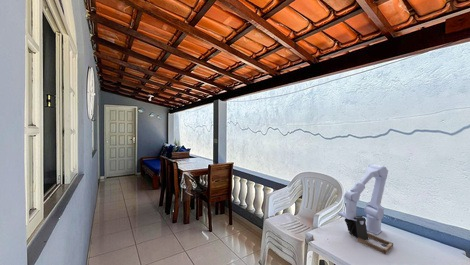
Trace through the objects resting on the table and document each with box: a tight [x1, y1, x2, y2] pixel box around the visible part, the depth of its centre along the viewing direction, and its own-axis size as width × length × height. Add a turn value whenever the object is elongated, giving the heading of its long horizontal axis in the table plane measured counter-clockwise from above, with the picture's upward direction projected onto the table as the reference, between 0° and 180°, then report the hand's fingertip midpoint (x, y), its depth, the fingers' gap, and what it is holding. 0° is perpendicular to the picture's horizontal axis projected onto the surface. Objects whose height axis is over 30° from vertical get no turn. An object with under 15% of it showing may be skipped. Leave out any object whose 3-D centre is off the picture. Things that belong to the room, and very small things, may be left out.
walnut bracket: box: [357, 232, 394, 255], centre depth 113 cm, size 12×14×2 cm
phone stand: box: [348, 216, 370, 241], centre depth 120 cm, size 9×6×12 cm, turn 7°
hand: (349, 230), depth 124 cm, fingers closed
